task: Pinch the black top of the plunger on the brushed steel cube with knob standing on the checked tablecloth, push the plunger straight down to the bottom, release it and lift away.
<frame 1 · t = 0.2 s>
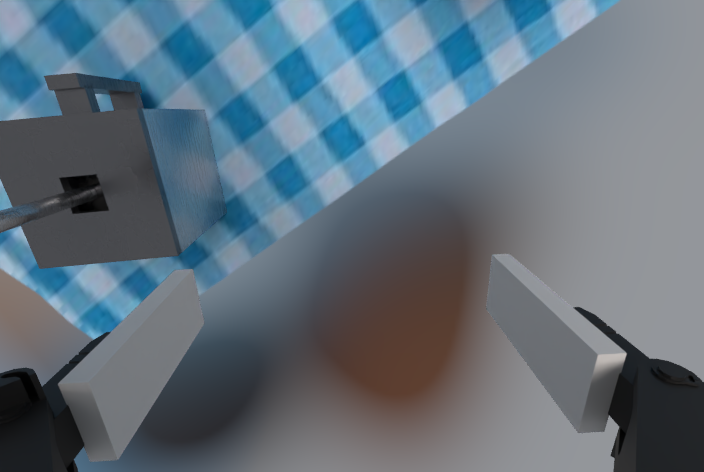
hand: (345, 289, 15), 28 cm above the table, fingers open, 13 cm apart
steel cube with knob: (165, 168, 41), on the table
plunger: (18, 215, 22), point 20 cm above the table, slide at 0.0 cm
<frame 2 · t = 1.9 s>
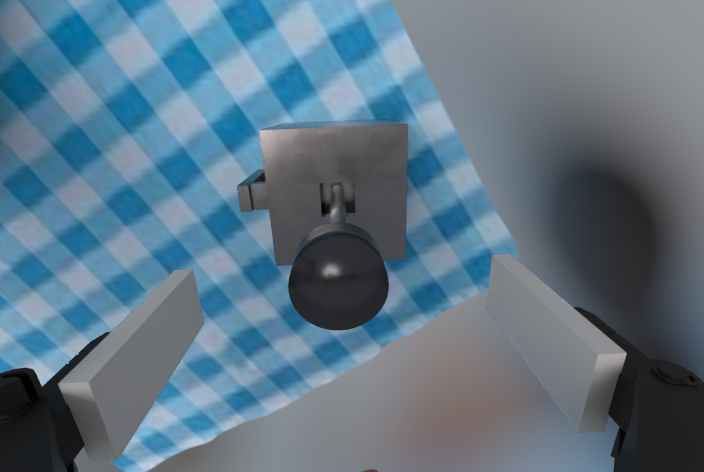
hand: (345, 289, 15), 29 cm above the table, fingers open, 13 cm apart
steel cube with knob: (337, 172, 43), on the table
plunger: (338, 220, 24), point 20 cm above the table, slide at 0.0 cm
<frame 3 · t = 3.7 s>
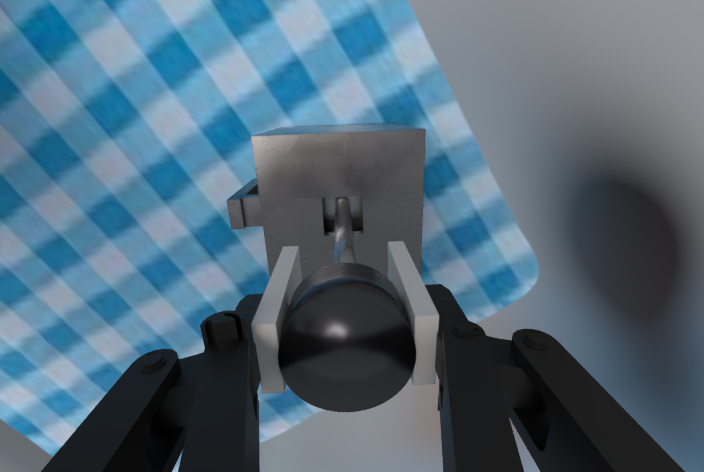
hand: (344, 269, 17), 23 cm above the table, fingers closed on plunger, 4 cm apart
steel cube with knob: (341, 180, 39), on the table
plunger: (343, 246, 20), point 20 cm above the table, slide at 0.0 cm, touching gripper
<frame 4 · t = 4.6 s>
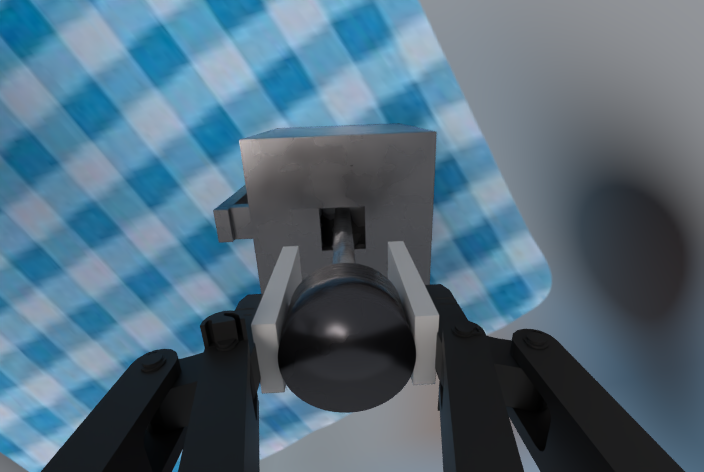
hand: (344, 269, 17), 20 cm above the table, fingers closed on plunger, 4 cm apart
steel cube with knob: (341, 186, 36), on the table
plunger: (343, 246, 20), point 17 cm above the table, slide at 3.0 cm, touching gripper
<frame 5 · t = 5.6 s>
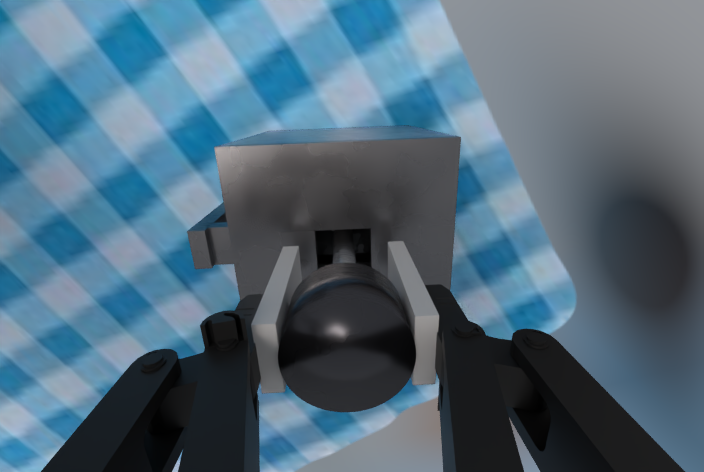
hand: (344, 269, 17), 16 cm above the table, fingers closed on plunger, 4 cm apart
steel cube with knob: (342, 196, 32), on the table
plunger: (343, 246, 20), point 12 cm above the table, slide at 7.4 cm, touching gripper
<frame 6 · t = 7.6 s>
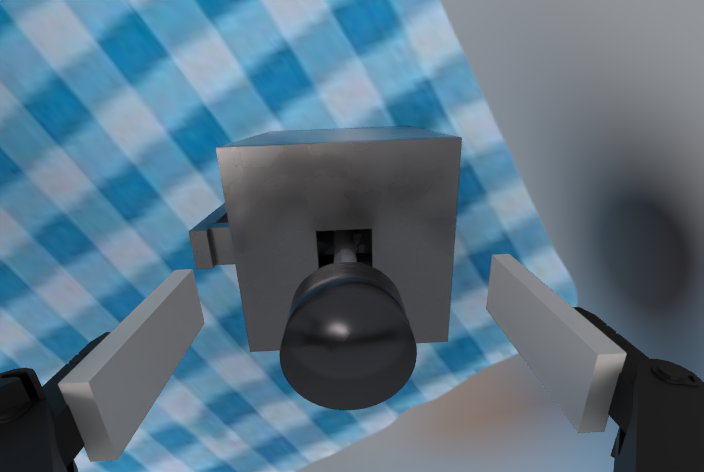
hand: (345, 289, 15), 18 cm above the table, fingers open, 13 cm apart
steel cube with knob: (343, 196, 32), on the table
plunger: (344, 246, 20), point 12 cm above the table, slide at 7.5 cm
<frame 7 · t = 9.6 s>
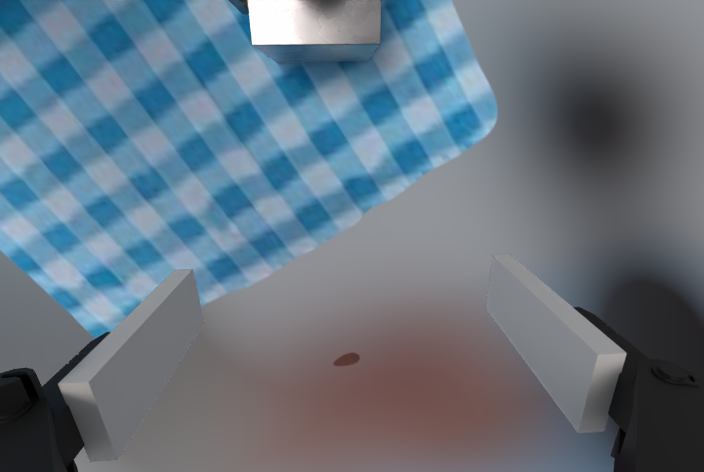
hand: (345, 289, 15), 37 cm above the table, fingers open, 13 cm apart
steel cube with knob: (320, 8, 43), on the table
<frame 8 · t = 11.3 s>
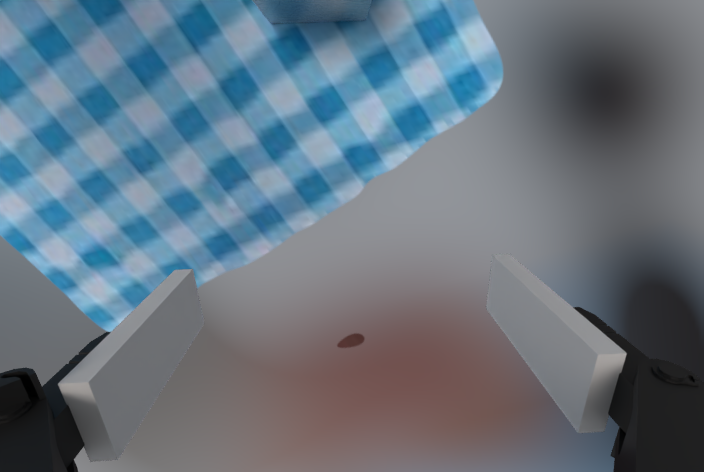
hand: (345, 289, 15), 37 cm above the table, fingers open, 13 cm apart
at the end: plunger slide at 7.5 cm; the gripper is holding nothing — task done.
